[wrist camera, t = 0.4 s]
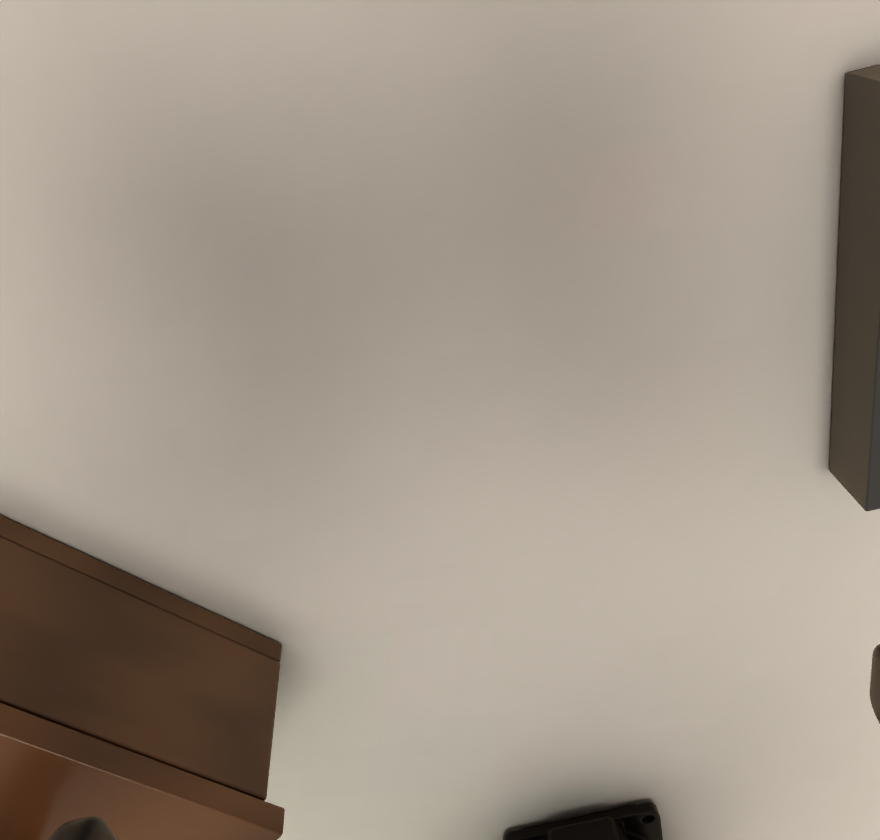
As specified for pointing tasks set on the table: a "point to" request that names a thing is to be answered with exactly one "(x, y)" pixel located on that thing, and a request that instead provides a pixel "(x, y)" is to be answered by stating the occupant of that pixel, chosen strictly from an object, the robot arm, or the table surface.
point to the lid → (113, 790)
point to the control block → (858, 297)
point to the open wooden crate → (133, 663)
